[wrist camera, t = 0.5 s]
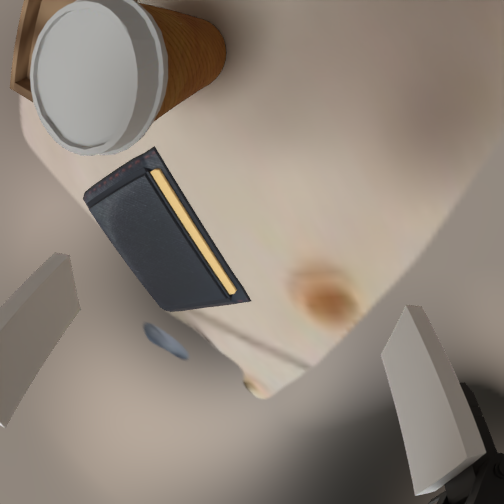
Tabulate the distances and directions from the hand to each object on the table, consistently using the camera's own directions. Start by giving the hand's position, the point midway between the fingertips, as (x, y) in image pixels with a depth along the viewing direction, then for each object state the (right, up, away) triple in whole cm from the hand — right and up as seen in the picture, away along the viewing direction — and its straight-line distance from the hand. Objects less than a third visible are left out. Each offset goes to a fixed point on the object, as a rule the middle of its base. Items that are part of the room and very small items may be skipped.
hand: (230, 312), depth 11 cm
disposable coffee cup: (-4, +18, +10) cm, 21 cm away
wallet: (-10, +3, +24) cm, 26 cm away
